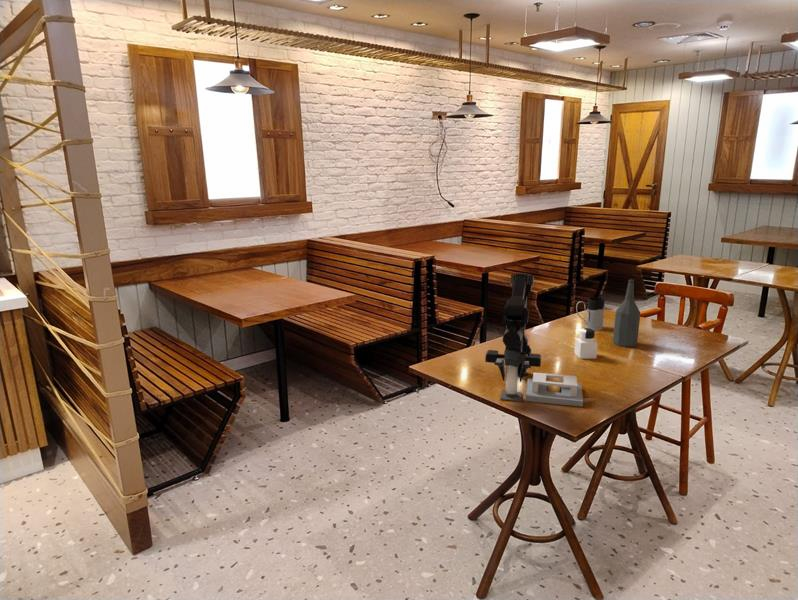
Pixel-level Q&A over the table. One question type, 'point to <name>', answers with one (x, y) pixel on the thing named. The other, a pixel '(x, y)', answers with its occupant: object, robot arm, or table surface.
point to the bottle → (627, 320)
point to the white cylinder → (511, 381)
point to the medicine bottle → (586, 344)
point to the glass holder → (594, 313)
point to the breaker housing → (568, 389)
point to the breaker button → (554, 389)
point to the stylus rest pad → (517, 398)
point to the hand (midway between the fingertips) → (512, 381)
